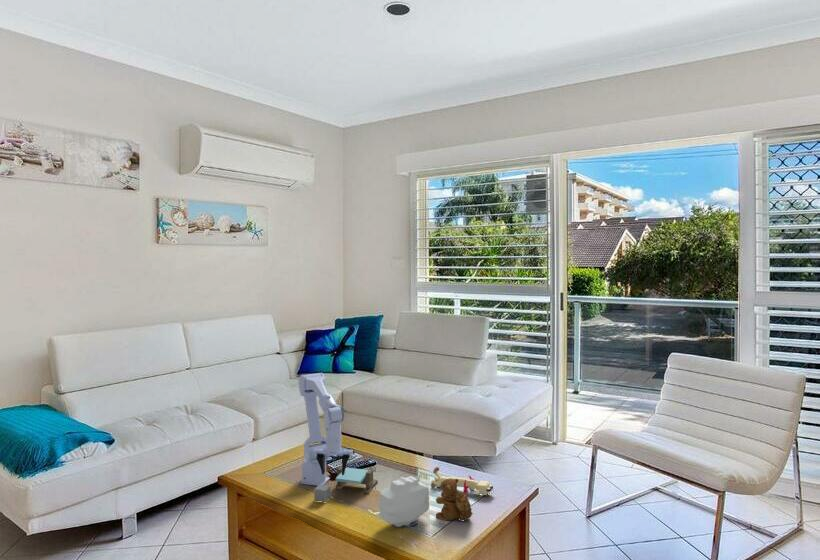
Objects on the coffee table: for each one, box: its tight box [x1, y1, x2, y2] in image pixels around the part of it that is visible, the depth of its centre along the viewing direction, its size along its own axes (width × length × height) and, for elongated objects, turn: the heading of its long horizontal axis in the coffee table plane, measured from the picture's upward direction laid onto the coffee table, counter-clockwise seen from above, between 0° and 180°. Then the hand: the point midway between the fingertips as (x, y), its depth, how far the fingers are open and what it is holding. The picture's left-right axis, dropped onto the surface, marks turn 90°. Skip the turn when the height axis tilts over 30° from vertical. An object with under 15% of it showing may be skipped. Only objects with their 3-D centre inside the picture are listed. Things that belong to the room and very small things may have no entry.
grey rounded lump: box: [377, 473, 430, 528], centre depth 180 cm, size 11×18×16 cm, turn 127°
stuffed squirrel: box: [435, 479, 474, 522], centre depth 184 cm, size 10×14×13 cm
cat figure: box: [430, 466, 495, 496], centre depth 206 cm, size 10×9×25 cm
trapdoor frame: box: [335, 465, 378, 494], centre depth 209 cm, size 14×10×8 cm
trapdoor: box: [335, 466, 369, 485], centre depth 204 cm, size 10×11×4 cm
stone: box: [313, 484, 331, 503], centre depth 196 cm, size 4×4×5 cm
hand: (333, 473), depth 197 cm, fingers open, 7 cm apart
